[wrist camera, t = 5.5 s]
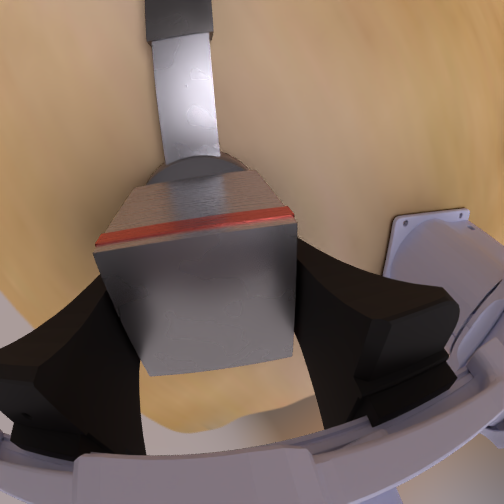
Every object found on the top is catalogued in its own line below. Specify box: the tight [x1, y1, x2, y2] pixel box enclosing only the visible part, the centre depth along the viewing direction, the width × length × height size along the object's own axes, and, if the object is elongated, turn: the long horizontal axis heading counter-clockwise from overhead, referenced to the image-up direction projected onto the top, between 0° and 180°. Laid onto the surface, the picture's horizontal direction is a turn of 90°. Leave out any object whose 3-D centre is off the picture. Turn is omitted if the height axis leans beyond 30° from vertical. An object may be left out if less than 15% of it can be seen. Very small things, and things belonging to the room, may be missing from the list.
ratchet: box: [145, 0, 249, 185], centre depth 11 cm, size 7×19×5 cm, turn 4°
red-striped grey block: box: [93, 170, 297, 376], centre depth 10 cm, size 5×5×6 cm
